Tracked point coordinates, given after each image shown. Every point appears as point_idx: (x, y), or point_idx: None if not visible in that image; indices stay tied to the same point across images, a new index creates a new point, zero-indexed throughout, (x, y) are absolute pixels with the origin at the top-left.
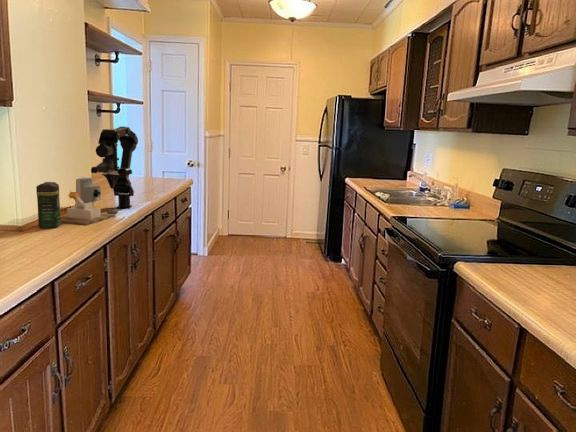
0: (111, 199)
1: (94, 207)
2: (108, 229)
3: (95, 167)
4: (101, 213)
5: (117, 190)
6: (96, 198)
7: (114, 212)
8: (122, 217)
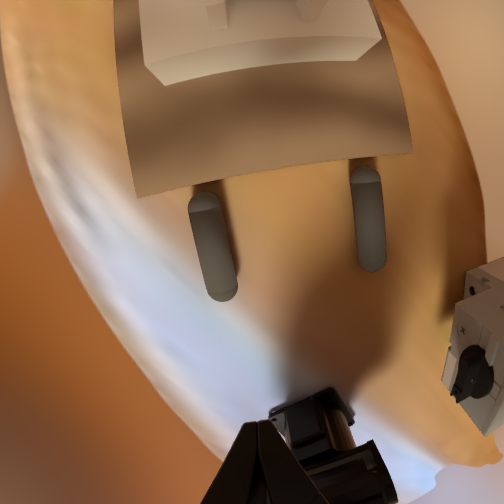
0: (441, 445)
1: (201, 45)
2: (10, 11)
3: None
4: (242, 163)
5: (344, 473)
6: (456, 356)
7: (198, 254)
8: (87, 204)
